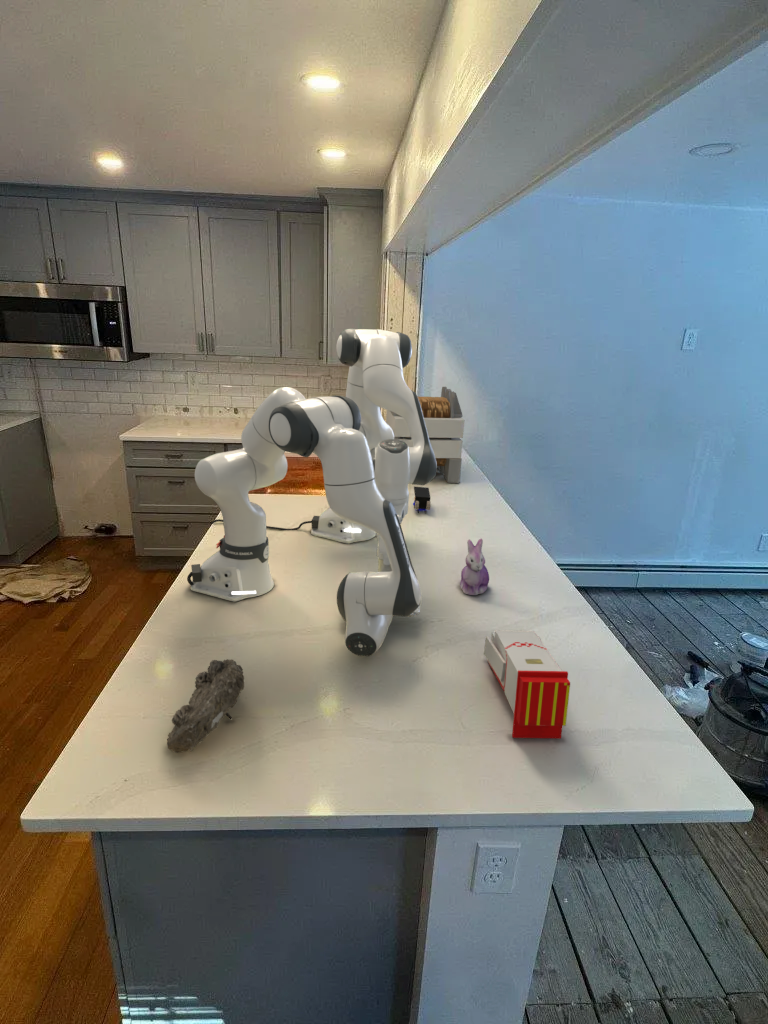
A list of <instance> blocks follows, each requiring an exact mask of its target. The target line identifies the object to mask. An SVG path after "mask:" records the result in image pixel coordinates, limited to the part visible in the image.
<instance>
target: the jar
mask: <svg viewBox="0 0 768 1024" xmlns="http://www.w3.org/2000/svg"><path fill="white" fill-rule="evenodd" d="M377 558H378V557H377ZM377 560H378V561H377V563H378V564H377V572H390V571H392V568H391V564H390V565H384V564H383V560H382V559H380V558H378V559H377Z"/></svg>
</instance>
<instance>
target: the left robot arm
mask: <svg viewBox="0 0 768 1024" xmlns="http://www.w3.org/2000/svg"><path fill="white" fill-rule="evenodd" d="M360 426H361V414H360V410H359V408H358V406H357V405H356V403H355V402H354V401H353V400H352V399H350V398H347V397H346V396H344V395H335V394H334V395H330V396H329V395H328V396H313V397H309V398H306V397H305V396H304V394H303V393H302V392H300V391H299V390H298V389H296V388H294V387H290V386H281V387H278V388H276V389H275V390H274V391H272V392H271V393H269V395H268V396H267V397H266V398H265V399H264V400H263V401H262V402H261V403H260V405H259V406H258V407H257V409H256V410H255V411H254V413H253V415H252V416H251V418H250V419H249V420H248V421H247V423H246V425H245V426H244V428H243V430H242V432H241V437H240V440H241V445H242V448H239V449H234V450H228V451H223V452H217V453H214V454H212V455H209V456H207V457H205V458H202V459H201V460H199V461H198V462H197V464H196V466H195V469H194V480H195V484H196V487H197V488H198V490H199V491H200V492H201V493H202V494H203V495H205V496H207V497H208V498H210V499H212V500H213V501H214V502H215V503H216V505H217V506H218V508H219V510H220V512H221V516H222V520H223V522H222V523H223V531H224V535H223V537H222V538H221V539H219V542H217V543H216V544H215V546H216V547H215V548H216V549H218V548H219V550H218V551H216V552H215V553H214V554H212V555H210V556H209V557H207V558H206V559H205V560H204V561H203V563H202V564H200V563H198V564H197V563H195V564H191V565H190V566H191V571H190V572H189V573H188V575H187V577H186V581H187V583H188V584H189V585H190V590H191V591H193V592H195V593H196V592H197V593H200V594H204V595H208V596H211V597H214V598H219V599H221V600H222V599H223V600H226V601H229V602H240V601H242V600H244V599H250V598H255V597H259V596H262V595H265V594H266V593H269V592H270V591H271V590H273V588H274V586H275V582H274V579H273V576H272V572H271V568H270V562H269V557H270V546H269V543H270V542H269V537H268V535H267V528H266V526H267V513H266V512H265V510H264V509H263V507H262V506H261V505H259V504H257V503H255V502H253V501H251V500H250V497H249V492H250V491H254V490H259V489H263V488H266V487H270V486H272V485H275V484H276V483H278V482H280V481H282V480H284V478H285V477H286V475H287V473H288V468H289V466H288V465H289V464H288V459H287V457H286V454H285V453H291V454H296V455H299V456H301V457H303V458H309V457H311V455H312V454H314V455H315V456H317V458H318V459H319V461H320V463H321V469H322V478H323V485H324V492H325V497H326V502H327V505H328V508H329V507H330V508H331V510H332V511H333V512H334V513H335V514H336V515H338V516H339V517H340V518H342V519H344V520H346V521H348V522H351V523H354V524H357V525H361V526H364V527H366V528H369V529H371V530H373V531H374V532H376V535H378V534H379V535H380V536H381V538H382V539H383V541H384V544H385V547H386V550H387V554H388V557H389V561H390V564H391V568H392V571H390V572H378V571H355V572H348V573H347V574H346V575H345V576H343V578H342V580H341V582H340V583H339V584H338V588H337V591H336V605H337V609H338V613H339V615H340V616H341V618H342V619H343V621H344V623H345V625H346V626H345V633H344V644H345V647H346V649H347V650H348V652H350V653H351V654H353V655H355V656H358V657H370V656H372V655H374V654H376V653H377V652H378V651H379V650H380V648H381V647H382V645H383V644H384V641H385V639H386V637H387V634H388V631H389V628H390V625H391V624H392V621H393V618H394V616H395V617H405V618H412V617H415V616H418V615H419V614H420V612H421V607H422V602H423V601H422V600H423V595H422V590H421V585H420V582H419V580H418V576H417V575H416V572H415V569H414V567H413V566H414V565H413V563H412V560H411V557H410V552H409V550H408V546H407V542H406V538H405V535H404V533H403V532H404V531H403V528H402V526H401V524H400V522H399V519H398V516H397V513H396V510H395V508H394V506H393V504H392V503H391V502H389V501H387V500H385V499H384V498H383V496H382V495H381V493H380V492H379V490H378V487H377V485H376V481H375V473H374V466H373V461H372V457H371V453H370V449H369V445H368V442H367V439H366V437H365V436H364V434H363V433H362V432H360V431H359V429H360Z"/></svg>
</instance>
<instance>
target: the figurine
mask: <svg viewBox="0 0 768 1024" xmlns="http://www.w3.org/2000/svg"><path fill="white" fill-rule="evenodd" d="M483 544H484V539H483V538H480V539H478V541H477V542H476V544H474V543H473V541H472V540H471V539H467V555H466V557H465V566H463V568H462V570H461V573H460V583H459V588H460V589H461V590H462V593H463V594H465V595H470V596H477V595H479V594H480V595H481V594H484V593H485V592H486V591H487V590H488V586H489V583H490V574H489V571H488V568H487V566H486V565H485V564H486V559H485V555H484V553H483V550H482V549H483Z"/></svg>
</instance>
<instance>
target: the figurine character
mask: <svg viewBox="0 0 768 1024" xmlns="http://www.w3.org/2000/svg"><path fill="white" fill-rule="evenodd" d="M413 491H414V497H413V503H412V505H413V509H414V510H416V513H417V514H420V512H424V514H425V515H426V514H427V511H430V510H431V493H430V488H429V487H426V486H424V487H423V486H413Z"/></svg>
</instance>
